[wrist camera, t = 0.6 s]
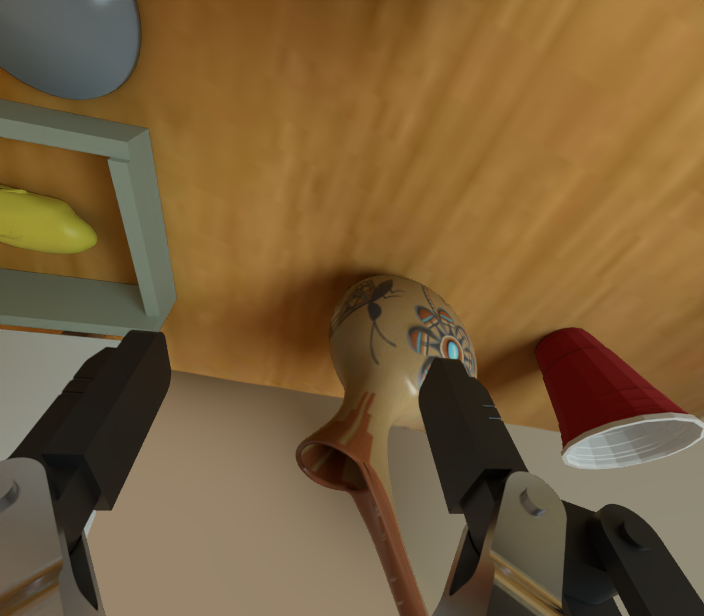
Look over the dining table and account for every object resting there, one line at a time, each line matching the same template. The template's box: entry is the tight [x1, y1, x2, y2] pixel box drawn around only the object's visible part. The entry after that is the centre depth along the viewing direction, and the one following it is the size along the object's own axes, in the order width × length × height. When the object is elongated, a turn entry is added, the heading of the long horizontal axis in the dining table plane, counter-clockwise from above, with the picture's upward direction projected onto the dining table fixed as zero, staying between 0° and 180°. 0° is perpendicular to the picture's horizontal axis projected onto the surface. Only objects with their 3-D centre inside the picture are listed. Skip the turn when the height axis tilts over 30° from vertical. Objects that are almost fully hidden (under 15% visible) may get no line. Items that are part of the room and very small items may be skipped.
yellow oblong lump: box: [0, 184, 97, 254], centre depth 23 cm, size 4×8×4 cm, turn 61°
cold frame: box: [0, 99, 177, 336], centre depth 22 cm, size 14×16×5 cm
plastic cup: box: [535, 328, 704, 469], centre depth 33 cm, size 11×11×12 cm
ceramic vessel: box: [296, 275, 477, 616], centre depth 22 cm, size 16×9×25 cm, turn 59°
